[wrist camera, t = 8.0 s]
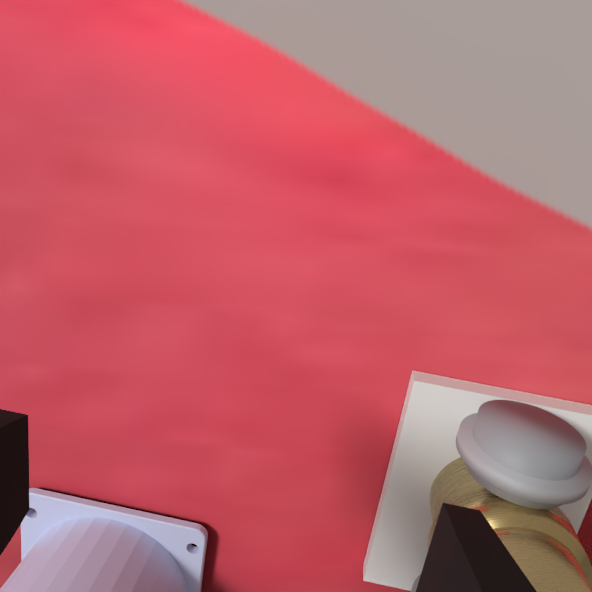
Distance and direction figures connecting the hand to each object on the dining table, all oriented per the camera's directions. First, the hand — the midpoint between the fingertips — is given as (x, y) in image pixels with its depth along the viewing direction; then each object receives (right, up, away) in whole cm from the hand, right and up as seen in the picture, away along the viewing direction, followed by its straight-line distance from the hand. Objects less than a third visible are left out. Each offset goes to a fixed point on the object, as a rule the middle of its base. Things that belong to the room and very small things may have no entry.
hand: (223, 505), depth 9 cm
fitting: (+8, -4, +11) cm, 14 cm away
